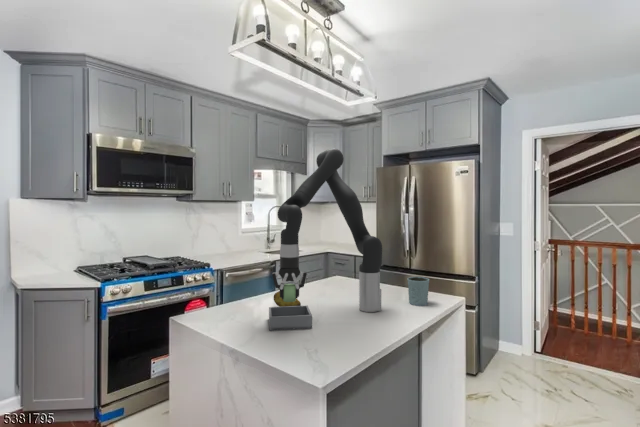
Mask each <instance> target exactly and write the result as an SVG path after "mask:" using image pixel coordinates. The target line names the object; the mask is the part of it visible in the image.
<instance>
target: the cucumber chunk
mask: <svg viewBox="0 0 640 427" xmlns="http://www.w3.org/2000/svg"><path fill="white" fill-rule="evenodd" d="M283 290H284V293H283V301H284V302H294V301H296V299H297V298H296V286H295V283H285V284H284V287H283Z"/></svg>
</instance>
